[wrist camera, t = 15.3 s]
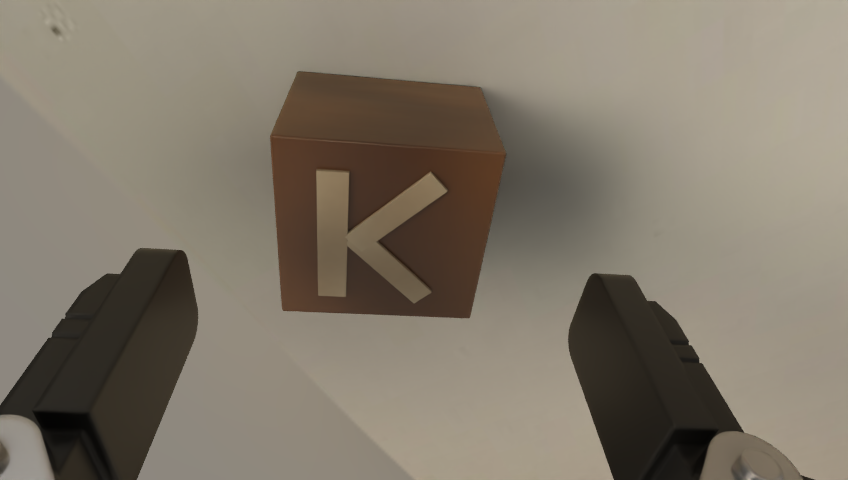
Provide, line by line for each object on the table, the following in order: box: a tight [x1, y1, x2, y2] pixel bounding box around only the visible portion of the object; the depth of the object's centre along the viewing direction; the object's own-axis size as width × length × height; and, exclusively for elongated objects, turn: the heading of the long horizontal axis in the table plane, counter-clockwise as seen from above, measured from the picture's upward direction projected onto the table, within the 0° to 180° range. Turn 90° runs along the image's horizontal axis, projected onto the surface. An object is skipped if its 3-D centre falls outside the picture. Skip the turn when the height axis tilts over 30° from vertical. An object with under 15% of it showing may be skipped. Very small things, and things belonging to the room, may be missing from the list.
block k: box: [270, 72, 506, 318], centre depth 14 cm, size 5×5×4 cm
